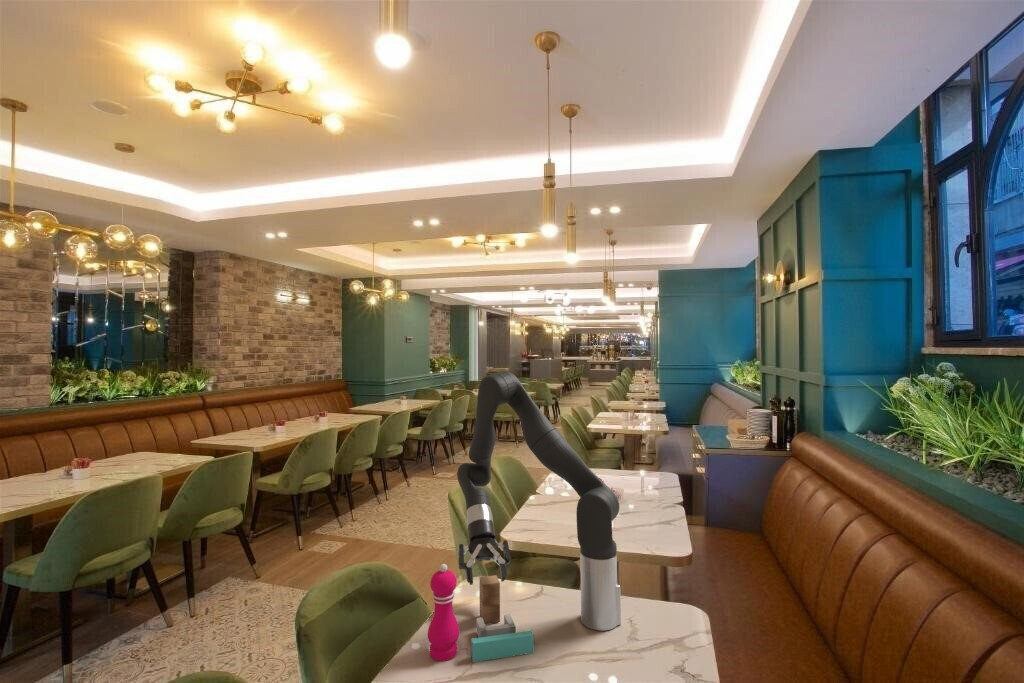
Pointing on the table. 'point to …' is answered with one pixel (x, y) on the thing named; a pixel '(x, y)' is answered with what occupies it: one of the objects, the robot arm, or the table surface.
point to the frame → (496, 627)
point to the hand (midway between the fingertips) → (487, 582)
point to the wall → (502, 645)
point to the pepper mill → (443, 616)
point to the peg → (490, 599)
